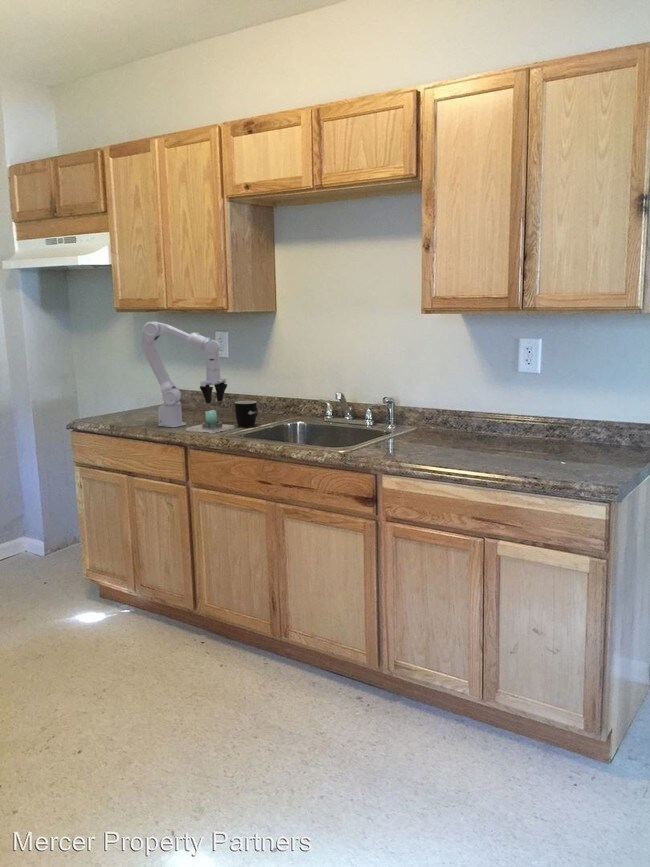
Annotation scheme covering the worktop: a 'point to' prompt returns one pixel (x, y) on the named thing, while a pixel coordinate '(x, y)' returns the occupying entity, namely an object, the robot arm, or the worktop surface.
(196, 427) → the panel
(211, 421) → the knob
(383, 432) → the worktop surface
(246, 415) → the mug
